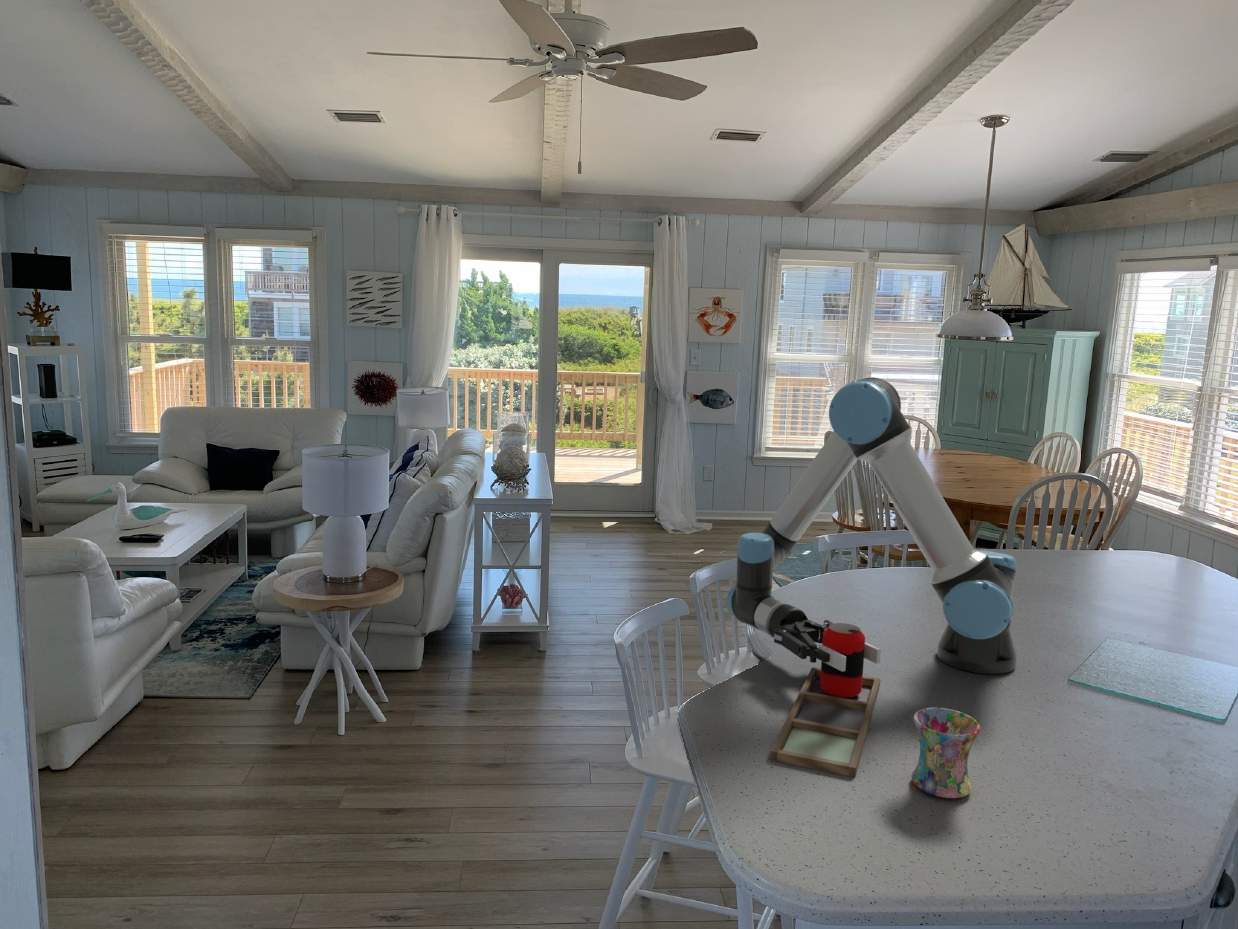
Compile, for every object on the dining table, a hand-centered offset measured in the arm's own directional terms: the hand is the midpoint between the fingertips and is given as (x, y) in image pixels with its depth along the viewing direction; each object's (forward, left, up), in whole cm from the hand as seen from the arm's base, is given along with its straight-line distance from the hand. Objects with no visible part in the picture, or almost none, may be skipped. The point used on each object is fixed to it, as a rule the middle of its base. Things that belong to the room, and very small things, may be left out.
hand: (861, 660), depth 159 cm
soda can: (+4, -3, -8) cm, 9 cm away
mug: (-15, +26, -9) cm, 31 cm away
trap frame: (+4, +9, -8) cm, 13 cm away
